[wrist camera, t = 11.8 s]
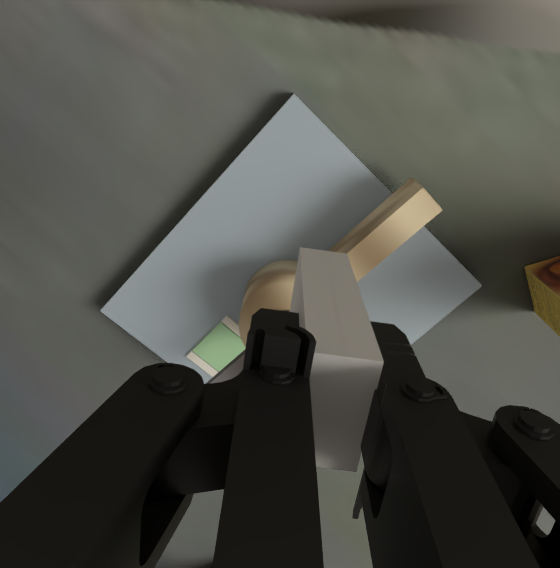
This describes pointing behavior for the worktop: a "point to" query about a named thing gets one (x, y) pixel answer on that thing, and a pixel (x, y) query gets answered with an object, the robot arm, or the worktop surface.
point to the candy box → (546, 290)
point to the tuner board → (277, 247)
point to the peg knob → (356, 244)
